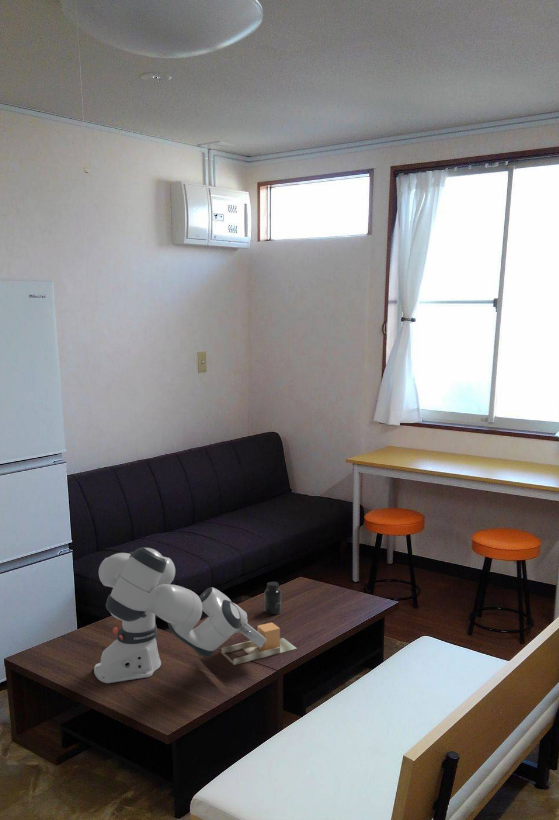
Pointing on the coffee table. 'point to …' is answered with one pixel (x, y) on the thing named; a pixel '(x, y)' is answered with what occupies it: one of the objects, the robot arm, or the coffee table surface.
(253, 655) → the chute
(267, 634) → the orange block
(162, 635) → the coffee table surface
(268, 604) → the supplement bottle
